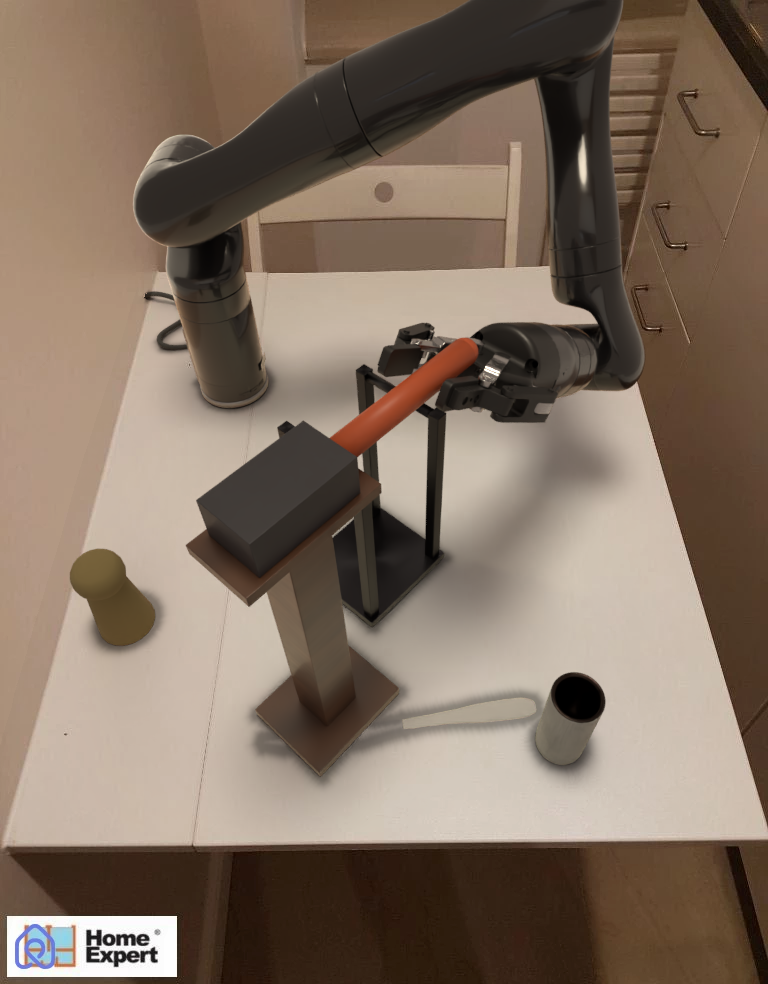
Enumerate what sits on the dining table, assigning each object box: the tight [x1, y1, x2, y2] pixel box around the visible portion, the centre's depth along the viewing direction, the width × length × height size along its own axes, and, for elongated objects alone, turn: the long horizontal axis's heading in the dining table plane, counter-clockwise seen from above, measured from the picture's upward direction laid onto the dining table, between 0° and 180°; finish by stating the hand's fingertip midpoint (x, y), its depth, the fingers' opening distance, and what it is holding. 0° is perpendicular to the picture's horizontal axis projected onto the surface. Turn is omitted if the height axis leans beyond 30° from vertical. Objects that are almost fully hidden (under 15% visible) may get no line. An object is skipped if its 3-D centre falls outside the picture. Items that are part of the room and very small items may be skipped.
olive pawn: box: [69, 548, 156, 647], centre depth 74 cm, size 6×6×11 cm
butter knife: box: [401, 697, 537, 730], centre depth 70 cm, size 1×27×3 cm
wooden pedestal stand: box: [185, 467, 400, 777], centre depth 59 cm, size 9×12×31 cm
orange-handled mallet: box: [195, 337, 478, 578], centre depth 49 cm, size 5×24×4 cm, turn 137°
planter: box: [534, 671, 607, 766], centre depth 64 cm, size 4×4×10 cm
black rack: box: [276, 363, 447, 628], centre depth 73 cm, size 11×12×23 cm
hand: (413, 378), depth 51 cm, fingers open, 5 cm apart
